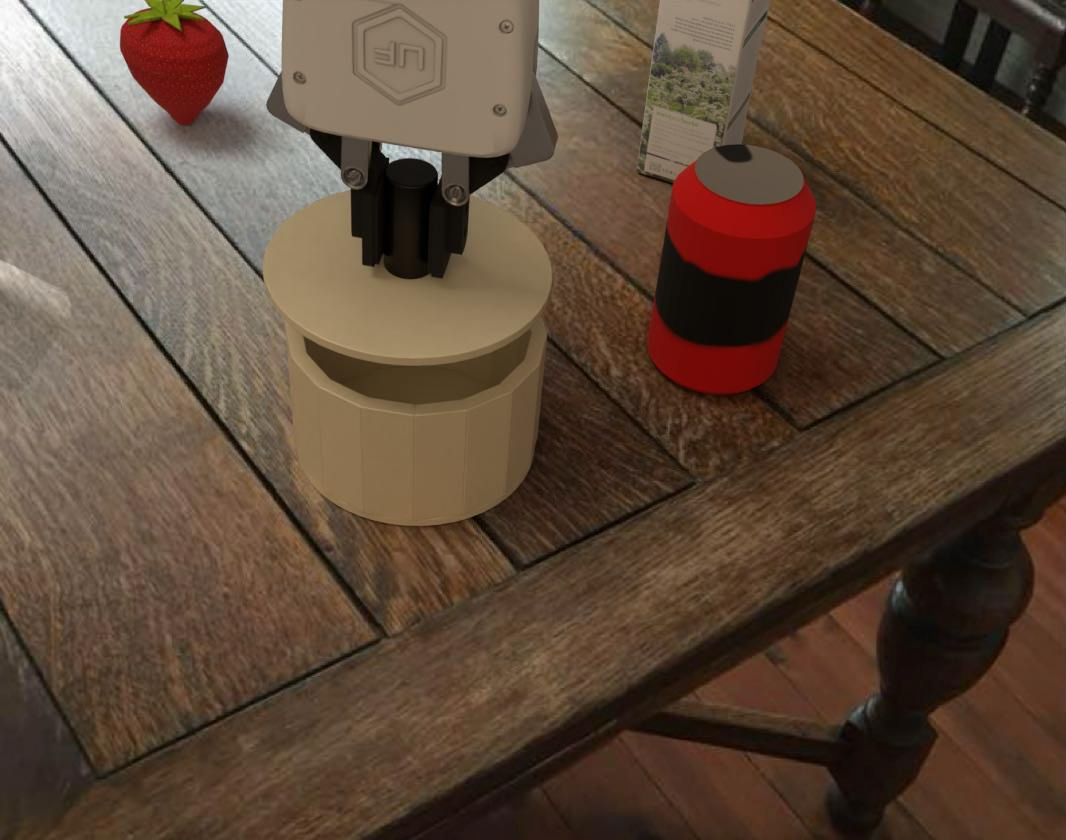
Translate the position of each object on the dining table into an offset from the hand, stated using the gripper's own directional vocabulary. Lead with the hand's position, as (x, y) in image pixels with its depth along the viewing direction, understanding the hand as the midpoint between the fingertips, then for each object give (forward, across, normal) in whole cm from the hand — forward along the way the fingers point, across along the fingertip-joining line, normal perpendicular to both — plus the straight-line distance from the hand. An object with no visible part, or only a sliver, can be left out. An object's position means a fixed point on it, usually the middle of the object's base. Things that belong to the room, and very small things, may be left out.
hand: (409, 252), depth 64 cm
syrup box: (+12, +13, +31) cm, 35 cm away
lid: (+1, 0, 0) cm, 1 cm away
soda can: (+12, +16, +11) cm, 22 cm away
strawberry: (+12, -21, +27) cm, 37 cm away
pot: (+12, +1, 0) cm, 12 cm away
